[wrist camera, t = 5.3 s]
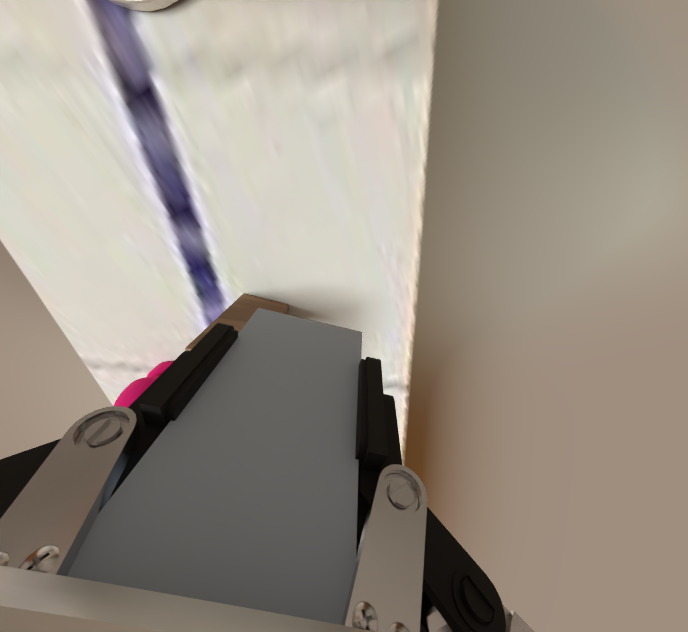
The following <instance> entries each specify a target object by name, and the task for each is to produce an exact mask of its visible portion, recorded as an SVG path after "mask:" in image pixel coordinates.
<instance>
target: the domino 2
mask: <svg viewBox="0 0 688 632" xmlns="http://www.w3.org/2000/svg"><path fill="white" fill-rule="evenodd" d="M361 348H362V332H359V331H355V330H351V329H347V328H342V327H338V326H334V325H330V324H325V323H321V322H317V321H313V320H308V319H304V318H300V317H296V316H291V315H287V314H283V313H279V312H275V311H270V310H266V309H262V308H258V309H257V310H256V311H255V313H254V314H253V315H252V317H251V318H250V319H249V320H248V322H247V323H246V324H245V326H244V327H243V328H242V329H241V331H240V332H239V333H238V338H237V340H236V341H235V342H234V344H233V345H232V346H231V348H230V349H229V350H228V352H227V353H226V354H225V356H224V357H223V358H222V360H221V361H220V362H219V363H218V365H217V366H216V367H215V369H214V370H213V371H212V373H211V374H210V375H209V377H208V378H207V379H206V381H205V382H204V383H203V385H202V386H201V387H200V389H199V390H198V391H197V392H196V394H195V395H194V396H193V398H192V399H191V400H190V402H189V403H188V404H187V406H186V407H185V408H184V410H183V411H182V412H181V414H180V415H179V416H178V418H177V419H176V420H175V421H172V420H171V421H170V422H169V423H168V425H167V426H166V427H165V429H164V430H163V431H162V432H161V434H160V435H159V436H158V438H157V439H156V440H155V442H154V443H153V444H152V445H151V447H150V448H149V449H148V451H147V452H146V453H145V454H144V456H143V457H142V458H141V460H140V461H139V462H138V463H137V465H136V466H135V467H134V469H133V470H132V471H131V472H130V474H129V475H128V476H127V478H126V479H125V480H124V481H123V483H122V484H121V485H120V487H119V488H118V489H117V490H116V492H115V493H114V494H113V496H112V497H111V498H110V499H109V501H108V502H107V503H106V505H105V506H104V507H103V508H102V510H101V511H100V512H99V514H98V515H97V517H96V519H95V521H94V523H93V525H92V527H91V529H90V531H89V533H88V535H87V537H86V539H85V541H84V543H83V544H82V546H81V548H80V550H79V553H78V555H77V557H76V559H75V561H74V563H73V565H72V567H71V569H70V571H69V573H68V575H67V577H73V578H78V579H84V580H90V581H96V582H102V583H108V584H113V585H119V586H125V587H131V588H137V589H142V590H148V591H154V592H159V593H165V594H171V595H177V596H182V597H188V598H194V599H199V600H205V601H211V602H216V603H222V604H228V605H233V606H239V607H245V608H250V609H256V610H261V611H267V612H272V613H278V614H283V615H289V616H294V617H300V618H305V619H311V620H316V621H322V622H327V623H333V624H338V625H341V623H342V618H343V614H344V610H345V606H346V602H347V599H348V595H349V589H350V585H351V581H352V577H353V573H354V569H355V564H356V544H357V505H358V466H359V460H357V459H355V450H356V424H357V398H358V372H359V363H360V361H361Z"/></svg>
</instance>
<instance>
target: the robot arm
mask: <svg viewBox="0 0 688 632" xmlns="http://www.w3.org/2000/svg"><path fill="white" fill-rule="evenodd" d="M109 1H111V2H112V3H114V4H116V5H119V6H122V7H125V8H128V9H131V10H138V11H153V10H158V9H162V8H166V7H168V6H169V5H171V4H173V3H174V2H176V1H178V0H109ZM237 338H238V331H237V330H234V326H231V325H227V324H223V323H217V324H216V325H215V326H214V327H213V328H212V329H211V330H210V331H209V332H208V333H207V334H206V335H205V336H204V337H203V338H202V339H201V340H200V341H199V342H198V343H197V344H196V345H195V346H194V347H193V348H192V349H191V350H190V351H189V350H187V351H185V352H183V353H182V354H181V355H180V356H179V357H178V358H177V359H176V360H175V361H174V362H173V363H172V364H171V365H170V366H169V367H168V368H167V369H166V370H165V371H164V372H163V373H162V374H161V375H160V376H159V377H158V378H157V379H156V380H155V381H154V382H153V383H152V384H151V385H150V386H149V387H148V388H147V389H146V390H145V391H144V392H143V393H142V394H141V395H140V396H139V397H138V398H137V399H136V400H135V401H134V402H133V403H132V404H131V405H130V406H129V407H128V408H127V407H122V406H113V407H106V408H102V409H99V410H96V411H94V412H92V413H89V414H87V415H85V416H84V417H82V418H81V419H79V420H78V421H77V422H75V424H74V425H73V426H72V427H71V428H70V429H69V430H68V431H67V432H66V434H65V435H64V436H63V438H62V439H59V440H56V441H53V442H50V443H47V444H44V445H41V446H38V447H36V448H33V449H30V450H27V451H24V452H21V453H18V454H15V455H12V456H10V457H7V458H4V459H1V460H0V632H534V631H533V630H532V629H531V628H530V627H529V626H528V625H527V624H526V623H525V622H524V621H523V619H521V617H519V615H518V614H517V613H516V612H515V611H512V612H509V611H508V610H507V609H506V608H505V607H504V606H503V605H502V602H501V599H500V597H499V595H498V593H497V591H496V589H495V587H494V585H493V583H492V582H491V581H490V579H489V578H488V577H487V575H486V574H485V573H484V572H483V571H482V570H481V568H480V567H479V566H478V565H477V564H476V562H475V561H474V560H473V559H472V558H471V557H470V555H469V554H468V553H467V552H466V551H465V550H464V549H463V547H462V546H461V545H460V544H459V543H458V542H457V540H456V539H455V538H454V537H453V536H452V535H451V534H450V532H449V531H448V530H447V529H446V528H445V527H444V526H443V524H442V523H441V522H440V521H439V520H438V519H437V517H436V516H435V515H434V514H433V513H432V512H431V510H430V509H429V508H428V507H427V494H426V491H425V488H424V485H423V483H422V482H421V480H420V479H419V477H418V476H417V475H416V474H415V473H414V472H413V471H412V470H410V469H409V468H407V467H405V466H402V459H401V451H400V443H399V434H398V426H397V418H396V410H395V401H394V398H393V396H390V395H385V394H383V384H382V370H381V360H379V359H375V358H370V357H367V358H366V360H363V359H361V361H360V363H359V372H358V398H357V424H356V450H355V459H357V460H359V466H358V505H357V544H356V564H355V569H354V573H353V577H352V581H351V585H350V589H349V595H348V599H347V602H346V606H345V610H344V614H343V618H342V623H341V625H338V624H333V623H327V622H322V621H316V620H311V619H305V618H300V617H294V616H289V615H283V614H278V613H272V612H267V611H261V610H256V609H250V608H245V607H239V606H233V605H228V604H222V603H216V602H211V601H205V600H199V599H194V598H188V597H182V596H177V595H171V594H165V593H159V592H154V591H148V590H142V589H137V588H131V587H125V586H119V585H113V584H108V583H102V582H96V581H90V580H84V579H78V578H73V577H67V575H68V573H69V571H70V569H71V567H72V565H73V563H74V561H75V559H76V557H77V555H78V553H79V550H80V548H81V546H82V544H83V543H84V541H85V539H86V537H87V535H88V533H89V531H90V529H91V527H92V525H93V523H94V521H95V519H96V517H97V515H98V514H99V512H100V511H101V510H102V508H103V507H104V506H105V505H106V503H107V502H108V501H109V499H110V498H111V497H112V496H113V494H114V493H115V492H116V490H117V489H118V488H119V487H120V485H121V484H122V483H123V481H124V480H125V479H126V478H127V476H128V475H129V474H130V472H131V471H132V470H133V469H134V467H135V466H136V465H137V463H138V462H139V461H140V460H141V458H142V457H143V456H144V454H145V453H146V452H147V451H148V449H149V448H150V447H151V445H152V444H153V443H154V442H155V440H156V439H157V438H158V436H159V435H160V434H161V432H162V431H163V430H164V429H165V427H166V426H167V425H168V423H169V422H170V421H171V420H172V421H175V420H176V419H177V418H178V416H179V415H180V414H181V412H182V411H183V410H184V408H185V407H186V406H187V404H188V403H189V402H190V400H191V399H192V398H193V396H194V395H195V394H196V392H197V391H198V390H199V389H200V387H201V386H202V385H203V383H204V382H205V381H206V379H207V378H208V377H209V375H210V374H211V373H212V371H213V370H214V369H215V367H216V366H217V365H218V363H219V362H220V361H221V360H222V358H223V357H224V356H225V354H226V353H227V352H228V350H229V349H230V348H231V346H232V345H233V344H234V342H235V341H236V340H237Z"/></svg>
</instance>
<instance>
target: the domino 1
mask: <svg viewBox="0 0 688 632" xmlns="http://www.w3.org/2000/svg"><path fill="white" fill-rule="evenodd" d="M288 307H289V305H288V304H284V303H280V302H276V301H272V300H268V299H264V298H260V297H256V296H252V295H248V294H243V295H242V296H241V297H239V298H238V299H237V300H236V301H235V302H234V303H233V304H232V305H231V306H230V307H229V308H228V309H227V310H226V311H224V312H223V313H222V314H221V315H220V316H219V317H218V318H217V319H216V320H215V321H214V322H213V323H212V324H211V325H210V326H208V327H207V328H206V329H205V330H204V331H203V332H202V333H201V334H200V335H199V336H198V337H197V338H196V339H195V340H193V341H192V342H191V343H190V344H189V345H188V346H187V347H186V348H185V350H186V351H187V350H189V351H190V350H191V349H192V348H193V347H194V346H195V345H196V344H197V343H198V342H199V341H200V340H201V339H202V338H203V337H204V336H205V335H206V334H207V333H208V332H209V331H210V330H211V329H212V328H213V327H214V326H215V325H216V324H217V323H223V324H227V325H231V326H234V330H237V331H238V333H239V332H240V331H241V329H242V328H243V327H244V326H245V324H246V323H247V322H248V320H249V319H250V318H251V317H252V315H253V314H254V313H255V311H256V310H257V309H258V308H262V309H266V310H270V311H275V312H279V313H283V314H287V315H288Z"/></svg>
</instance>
